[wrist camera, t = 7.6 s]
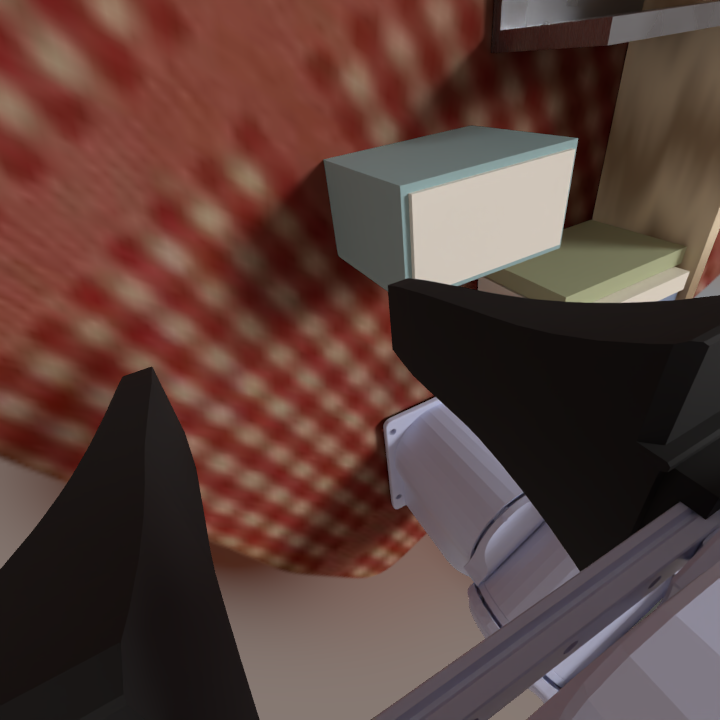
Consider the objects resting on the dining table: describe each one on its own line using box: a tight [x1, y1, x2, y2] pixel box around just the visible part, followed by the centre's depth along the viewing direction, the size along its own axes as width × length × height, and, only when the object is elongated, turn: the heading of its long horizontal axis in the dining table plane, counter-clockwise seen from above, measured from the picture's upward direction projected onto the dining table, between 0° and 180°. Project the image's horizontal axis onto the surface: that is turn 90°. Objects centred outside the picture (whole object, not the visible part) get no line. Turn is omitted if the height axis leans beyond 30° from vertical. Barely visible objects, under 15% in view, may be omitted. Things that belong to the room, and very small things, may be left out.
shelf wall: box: [592, 0, 720, 300], centre depth 23 cm, size 18×1×7 cm, turn 7°
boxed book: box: [324, 125, 578, 291], centre depth 19 cm, size 4×8×6 cm, turn 97°
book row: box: [478, 220, 690, 303], centre depth 25 cm, size 3×9×7 cm, turn 97°
